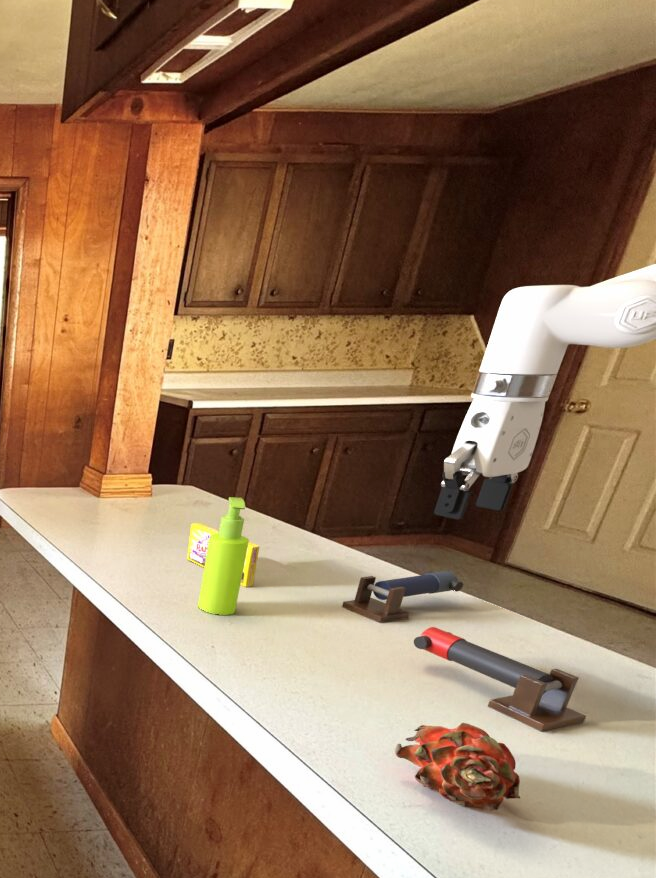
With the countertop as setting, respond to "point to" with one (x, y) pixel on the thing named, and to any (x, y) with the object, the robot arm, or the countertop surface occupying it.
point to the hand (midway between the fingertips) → (468, 512)
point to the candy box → (200, 546)
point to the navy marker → (418, 584)
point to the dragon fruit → (463, 765)
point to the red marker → (480, 658)
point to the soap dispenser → (224, 563)
